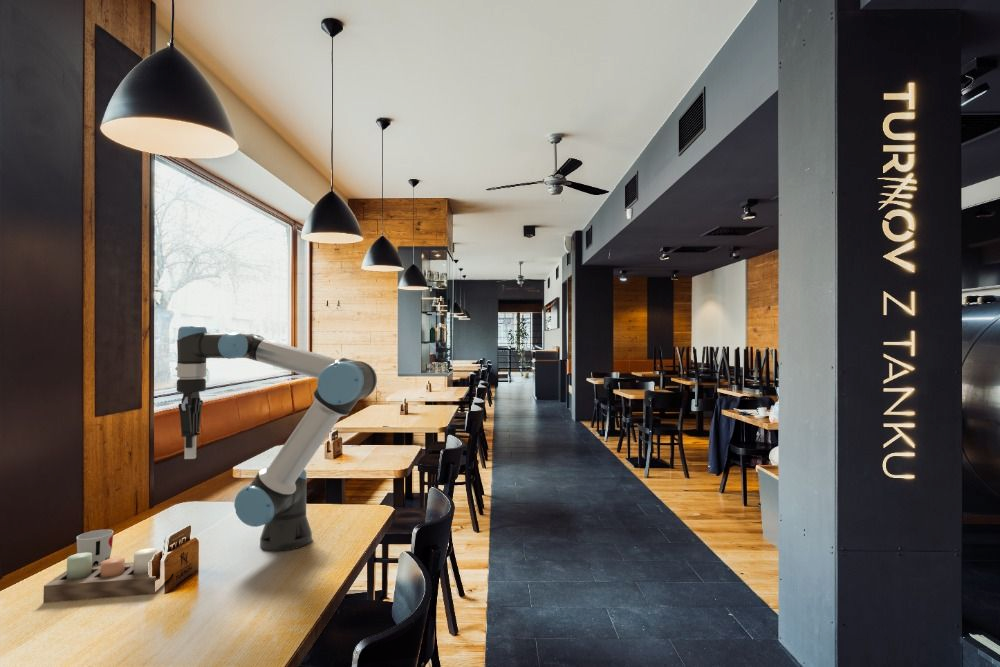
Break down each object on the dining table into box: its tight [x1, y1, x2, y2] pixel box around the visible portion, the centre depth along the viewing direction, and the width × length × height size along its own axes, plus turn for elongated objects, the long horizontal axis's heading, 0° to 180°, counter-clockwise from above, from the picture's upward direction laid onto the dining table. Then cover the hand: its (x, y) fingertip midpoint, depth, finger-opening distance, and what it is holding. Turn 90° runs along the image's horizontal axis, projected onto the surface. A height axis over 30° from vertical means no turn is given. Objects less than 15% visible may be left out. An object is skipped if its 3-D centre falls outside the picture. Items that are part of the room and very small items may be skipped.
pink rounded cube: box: [100, 556, 126, 577], centre depth 138 cm, size 5×5×5 cm
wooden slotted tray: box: [42, 561, 156, 604], centre depth 138 cm, size 24×12×4 cm, turn 101°
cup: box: [76, 529, 114, 565], centre depth 149 cm, size 8×8×10 cm
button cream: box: [133, 547, 158, 575], centre depth 140 cm, size 5×5×5 cm
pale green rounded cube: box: [66, 552, 92, 580], centre depth 137 cm, size 5×5×5 cm
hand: (190, 458), depth 161 cm, fingers closed
